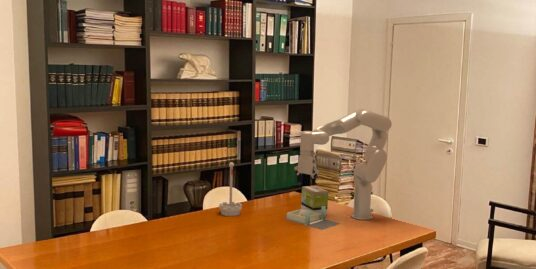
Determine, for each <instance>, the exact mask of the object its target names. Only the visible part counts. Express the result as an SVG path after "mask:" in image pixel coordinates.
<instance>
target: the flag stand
mask: <svg viewBox="0 0 536 269" xmlns="http://www.w3.org/2000/svg"><path fill="white" fill-rule="evenodd" d="M228 166H229V199H228V200H229V203H227V201H224V202H222V203H219V206H218V207H219V210H220V215H222V216H226V217H235V216H236V217H237V216H240V214H241V210H242V209H243V204H241V202H237V203H235V201H233V174H234V171H233V169H234V166H235V163H234V162H233V161H231V162H229V164H228Z"/></svg>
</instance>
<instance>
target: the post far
mask: <svg viewBox="0 0 536 269" xmlns="http://www.w3.org/2000/svg"><path fill="white" fill-rule="evenodd" d="M325 214H326V206H321V216H320V218H321V220H325V219H326V215H325Z"/></svg>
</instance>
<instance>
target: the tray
mask: <svg viewBox="0 0 536 269" xmlns="http://www.w3.org/2000/svg"><path fill="white" fill-rule="evenodd" d="M301 210H303V209H301V208H300V209H296V210H292V211H288V212H286V218H287V219H289V220H293V221H297V222H300V223H304V224H305V217H302V216H299V212H300V211H301ZM304 210H305V209H304ZM320 218H321V216H320V213H317V212H313V211H310V222H313V221H316V220H320ZM289 220H288V221H289Z"/></svg>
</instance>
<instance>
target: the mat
mask: <svg viewBox="0 0 536 269" xmlns="http://www.w3.org/2000/svg"><path fill="white" fill-rule="evenodd" d="M284 220H286V221H289V222H292V223H296V224H300V225H303V226H306V227H310V228H314V229H318V230H321V231H323V230H326V229H329V228H331V227H335V226H338V225H341V223H340V222H336V221H333V220H328V219H326V218H325V220H321V217H320V220H316V221H313V222H310V225H305V224H304V223H300V222H297V221H293V220H289V219H287V217H286V218H284Z"/></svg>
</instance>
